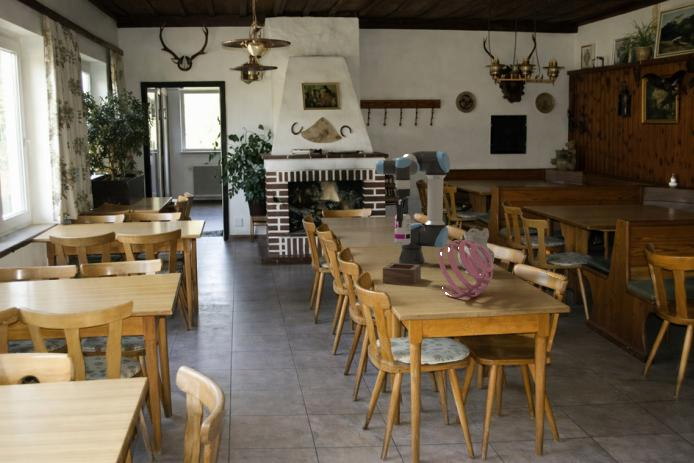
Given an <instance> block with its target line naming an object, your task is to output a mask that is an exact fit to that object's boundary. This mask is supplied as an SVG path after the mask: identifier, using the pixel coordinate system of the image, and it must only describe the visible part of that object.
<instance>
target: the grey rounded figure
mask: <svg viewBox="0 0 694 463" xmlns="http://www.w3.org/2000/svg"><path fill="white" fill-rule="evenodd" d="M482 229H483V230H480V229H478V228H474V227H472V228H470V229H468V231H467V232H463V238H464V240H471V241H473V242H475V243H477V244H479V245H481V246H482V247H483V248H485V250H486V251H487V252H488V253H489V255H490V257H491V260H492V263H493V264H494V262H495V252H494V251H493V249H490V247H489V246H488V240H489V237H490V231H489V229H488V227H483V228H482ZM467 243H469V244H470V245H472V243H470V242H467ZM464 251H465V252H466V253H467V254H468V255H469V256H470V257H471V259H472V260H473V258H472V255H471V251H470V249H469V248H468V247H466V246H464ZM476 251H477V252H478V253H479V254H480V256H481V257H482V259H483V261H484V263H485V261H486V264H487V267H489V265H488V262H487V260H486V258H485V257H484V255H483V254H482V252H481V251H480V250H479V249H478V248H476ZM457 259H458V262H459V263H458V264H460V266H461V267H462V268H463V269H465V271H464V273H465V274H467V275H470V274H469V273H468V271H467V270H466V268H465V267H464V265H463V263H462V261H461V258H460V255H459V252H458V253H457ZM473 262H474V263H475V261H474V260H473ZM475 265H476V267H477V269H478V271H479V273H480V275H481V274H482V270H481V269H480V268H479V267H478V266H477V264H476V263H475Z"/></svg>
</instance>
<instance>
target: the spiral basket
mask: <svg viewBox="0 0 694 463" xmlns="http://www.w3.org/2000/svg"><path fill="white" fill-rule="evenodd" d="M467 242H470V243H472V245H470V244H469V243H467ZM455 243H459V244H458V245H456V244H455ZM464 246H466V247H468V248H469V249H470V251H471V255H472V258H473V260H474V261H475V263H476V264H477V266H478V267H479V268H480V269H481V270H482V274H481V275H480V273H479V271H478V269H477V267H476V265H475V263H474V262H473V260H472V259H471V257H470V256H469V255H468V254H467V253H466V252H465V251H464ZM445 248H447V258H448V263H449V265H450V268H451V270H452V272H453V273H454V275H455V276H456V278H457V279H458V281H460V282H461V284H462V285H463V286H464V287H466V288H467V289H466V290H465V289H461V288H460V287H459V286H457V284H456V283H455V282H454V280H453V279H452V277H451V276H450V274H449V272H448V270H447V268H446V265H445V262H444V257H443V256H444V250H445ZM476 248H478V249H479V250H480V251H481V252H482V254H483V255H484V257H485V258H486V260H487V262H488V265H489V267H487V264H486V261H485V263H484V261H483V259H482V257H481V256H480V254H479V253H478V252H477V251H476ZM453 250H454V251H456V252H458V253H459V255H460V258H461V261H462V263H463V265H464V267H465V268H466V269H465V268H464V269H465V271H466V270H467V271H468V273H469V274H468V275H470V276H471V277H472V278H473V279H474V280H475V281H476V282H475V283H474V284H472V283H471V282H469V281H468V280H467V279H466V278H465V277H464V274H462V272H461V271H460V269H459V267H458V265H457V262H456V261H455V256H454V253H453ZM438 263H439V267H440V270H441V272H442V274H443V276H444V279H445V280H446V282H447V283H448V285H450V286H448V285H445V288H446V289H448V290H450V291H453V292H456V293H457V294H458V295H453V294H450V293H448V292H447V291H446V290H445V288H444V287H443V286H442V287H441V289H442V292H443V293H444V294H445V295H446V296H448V297H449V298H453V299H462V298H464V299H465V298H467V299H473V298H476V297H478V296H479V295H480V294H481V293H483V292H485V291H486V290H487V288H488V287H489V285H490V283H491V282H492V278H493V276H494V265H493V264H494V262H493V263H492V260H491V257H490V255H489V253H488V252H487V251H486V250H485V248H483V247H482V246H481V245H479V244H477V243H475V242H473V241H471V240H465V239H456V240H453V241H450V243H446V244H445V245H444V246H443V247H440V249H439V252H438ZM489 273H490V274H489ZM474 293H475V294H474ZM471 294H474V295H471Z"/></svg>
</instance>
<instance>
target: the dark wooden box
mask: <svg viewBox="0 0 694 463" xmlns="http://www.w3.org/2000/svg"><path fill="white" fill-rule="evenodd" d="M421 269H422V265H419V264H401V263H398V262H390V263H389V264H387V265H386V266H384V267H383V268H382V284H393V285H394V284H395V285H396V284H397V285H410V286H413V285H415V284H416V283H418V282H419V281H420V280H421V279H422V278H421V277H422V276H421V271H422V270H421Z"/></svg>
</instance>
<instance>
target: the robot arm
mask: <svg viewBox="0 0 694 463" xmlns="http://www.w3.org/2000/svg"><path fill="white" fill-rule="evenodd" d="M450 170H451V161H450V156H449V154H448V152H445V151H439V150H437V151H436V150H435V151H434V150H433V151H432V150H418V151H414V152H411V153H407V154H404V155H403V156H399V157H396V158H392V159H391V158H390V159H379V160H377V161H376V164H375V171H376V173H377V175H383V176H384V175H388V176H389V175H391V176H393V175H395V181H394V184H395V190H394V191H395V196H396V197H398V200H397V201H396V204H397V205H396V214H397V220H396V221H398V234H403V214H409V213H410V212H409V197H410V196H411V176H414V175H417V174H418V173H419V172H420V173H425V176H426V177H427V213H426V214H427V215H426V218H427V219H426V221H425V222H424V223H422V222H414V223H413V222H411V243H409V244H408V245H401V251H400V254H399V257H398V260H397V261H398V262H397V263H401V264H419V265H421V266H422V265H424V264H425V263H426V261H425V257H424V253H423V251H422V250H423V247H426V248H427V247H429V248H442V247H443V246H444V245H446V244H447V241H448V240H449V239H448V238H449V228H448V227H446V223H445V222H444V220H443V218H444V217H443V213H444V212H443V210H444V209H443V208H444V206H443V205H444V178H445V177H446V176H447V173H449V172H450ZM407 197H408V198H407ZM409 215H410V214H409ZM423 224H424V225H423Z"/></svg>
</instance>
